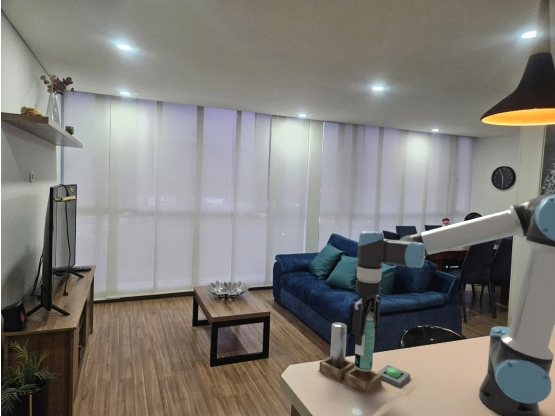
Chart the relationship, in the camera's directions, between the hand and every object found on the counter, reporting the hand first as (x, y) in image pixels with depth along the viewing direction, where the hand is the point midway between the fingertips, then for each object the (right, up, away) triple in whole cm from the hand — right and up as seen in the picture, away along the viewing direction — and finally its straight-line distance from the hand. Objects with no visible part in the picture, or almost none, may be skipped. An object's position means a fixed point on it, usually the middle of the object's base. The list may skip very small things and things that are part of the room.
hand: (364, 351), depth 113 cm
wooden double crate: (-4, -11, +4) cm, 13 cm away
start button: (+11, -12, +5) cm, 17 cm away
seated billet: (-7, -10, +8) cm, 15 cm away
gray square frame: (+11, -12, +5) cm, 17 cm away
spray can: (0, -6, 0) cm, 6 cm away
